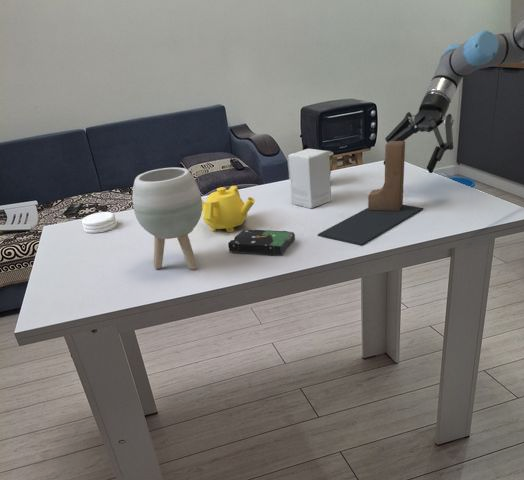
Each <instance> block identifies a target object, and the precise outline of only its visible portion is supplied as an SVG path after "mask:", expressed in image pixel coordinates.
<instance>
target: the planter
mask: <svg viewBox="0 0 524 480" xmlns="http://www.w3.org/2000/svg"><path fill="white" fill-rule="evenodd" d="M202 201H203V199H202V195H201V191H200V188H199V185H198V183H197V181H196V179H195V177H194V176H193V174H192V172H190V170H189V169H187V168H184V167H163V168H157V169H156V168H155V169H151V170H148V171H145V172H143V173H140V174H138V175H137V176H136V177H135V178H134V181H133V187H132V207H133V212H134V215H135V217H136V220H137V222H138V223H139V225H140V226H141V227H142V228H143V229H144V231H146V232H147V233H148V234H151V236H153V237H154V240H153V241H154V243H153V268H154V269H155V270H159V269H161V268H162V267H163V261H164V253H165V244H166V240H171V239H177V241H178V244H179V246H180V249H181V252H182V254H183V256H184V258H185V261H186V263H187V267H188V268H189V269H190V270H192V271H193V270H197V269H198V263H197V260H196V256H195V253H194V250H193V248H192V244H191V240H190V238H189V234H191V233H192V232H193V231H194V229H195V228H196V226H197V225H198V224H199V221H200V220H201V217H202V215H203V211H202Z"/></svg>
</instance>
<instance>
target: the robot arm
mask: <svg viewBox="0 0 524 480" xmlns="http://www.w3.org/2000/svg"><path fill="white" fill-rule="evenodd" d="M523 62H524V19H522V20H521V21H520V22H519V23H518V24H517V25H515V26H514V27H513V28H512V29H510V30H509V31H508V32H503V33H497V34H495V33H493V32H491V31H489V30H481V31H479V32H477V33H475V34H473V35H472V36H470V37H469V38H468V39H467V40H465V42H463V43H455V44H450V45H448V46H447V47H446V48H445V50H444V52H443V54H441V56H440V59H439V62H438V64H437V66H436V69H435V72H434V74H433V76H432V78H431V80H430V82H429V84H428V87H427V89H426V91H425V94H424V97H423V98H422V101H421V102H420V105H419V108H418V111H417V113H416V114H411V111H408V112H406V114H405V115H404V118H403V119H402V120H401V121H400V122H399V123H398V124H397V125H396V126H395V127H394V128H393V129H392V130H391V132H390V133H389V134H387V135H386V137H385V138H384V140H385V141H386V144H387V143H388V142H389V141H405V140H407V139H408V138H410V137H411V136H413V135H414V134H418V133H419V132H420V133H424V132H426V133H431V132H433V133H434V136H435V138H436V140H437V143H438V146H437V145H436V146H435V148H434V150H433V152H432V154H431V157H430V159H429V161H428V164H427V166H426V170H427V171H428V173H429V174H433V172H434V170H435V168H436V166H437V163H438V162H441V160H442V158H443V156H444V153H445V152H446V151H448V150H449V151H453V149H455V148H454V138H453V137H454V136H453V135H454V134H453V124H454V121H455V120H454V117H453V116H452V114H451V113H448V114H447V111H449V107H450V105H451V103H452V101H453V98H454V96H455V94H456V91H457V89H458V87H459V85H460V82H461V80H462V79H463V78H464V77H467V76H468V75H470V74H471V73H473V72H474V71H476V70H479V69H485V68H490V67H491V68H492V67H496V66H502V65H503V66H504V65H509V64H519V63H523ZM446 114H447V115H446ZM442 124H444V129H445V140H446V141H445V142H444V139H443V137H442V135H441V132H440V130H439V126H440V125H442ZM415 126H416V127H415ZM383 165H384V166H385V159H384V160H383Z"/></svg>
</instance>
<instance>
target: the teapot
mask: <svg viewBox="0 0 524 480" xmlns="http://www.w3.org/2000/svg"><path fill="white" fill-rule="evenodd" d="M254 203H255V199H254V198H253V197H250V196H249V197H247V199H246V200H245V202H244V200H243V199H242V198H241V195H240V190H239V188H238V185H231V186H230V187H229V189H227V188H226V187H224V186H221V187H217V188H216V191H212V192H211V193H209V195H208V196H207V198H206V201H205V202H204V200H202V220H203V222H204V224H206V225H207V226H208V227H210V229H209V230H210V231H211V232H213V231H218V230H224V229H225V230H226V232H227V233H232V232H234V231H235V229H234V228H235V227H238V226H242V225H243V224H244V222H245V220H246V219H247V218H248V212H249V211H250V210H251V209H252V207H253V205H254Z"/></svg>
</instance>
